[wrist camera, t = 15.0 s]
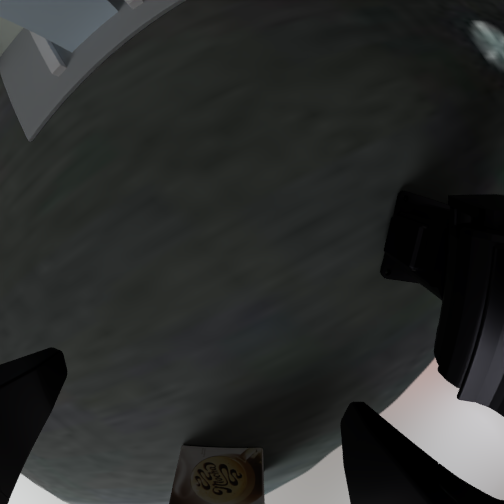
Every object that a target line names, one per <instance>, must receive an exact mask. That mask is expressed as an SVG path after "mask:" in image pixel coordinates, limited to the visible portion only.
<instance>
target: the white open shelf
mask: <svg viewBox="0 0 504 504" xmlns="http://www.w3.org/2000/svg"><path fill="white" fill-rule="evenodd" d="M108 1H109V2H110V3H111V4H112V5H113V6H114V7H115V8H116V9H117V11H118V12H117V13H116V14H115V15H114V16H112V17H111V18H110V19H109V20H107V21H106V22H105V23H104V24H103V25H101V26H100V27H99V28H98V29H97V30H96V31H95V32H93V33H92V34H91V35H90V36H89V37H88V38H87V39H86V40H85V41H84V42H83V43H81V44H80V45H79V46H78V47H77V48H76V49H75V50H74V51H73V52H72V53H71V52H70V51H68V50H66V49H64V48H62V47H61V46H59V45H57V44H55V43H53V42H51V41H49V40H47V39H45V38H43V37H42V36H40V35H38V34H36V33H34V32H32V31H30V30H28V29H25V28H23V27H21V26H19V25H17V24H15V23H13V22H11V21H8V20H6V19H4V18H2V17H0V74H1V77H2V79H3V82H4V85H5V88H6V90H7V93H8V96H9V98H10V101H11V103H12V105H13V108H14V110H15V113H16V115H17V117H18V119H19V122H20V124H21V126H22V128H23V130H24V133H25V135H26V137H27V139H28V141H33V140H34V138H35V137H36V135H37V134H38V133H39V131H40V130H41V129H42V128H43V126H44V125H45V124H46V122H47V121H48V120H49V119H50V117H51V116H52V115H53V114H54V113H55V111H56V110H57V109H58V108H59V107H60V106H61V104H62V103H63V102H64V101H65V100H66V99H67V98H68V97H69V95H70V94H71V93H72V92H73V91H74V90H75V89H76V88H77V87H78V86H79V85H80V84H81V83H82V82H83V81H84V80H85V79H86V78H87V77H88V76H89V75H90V74H91V73H92V72H93V71H94V70H95V69H96V68H97V67H98V66H99V65H100V64H101V63H102V62H104V61H105V60H106V59H107V58H108V57H109V56H110V55H111V54H113V53H114V52H115V51H116V50H117V49H118V48H120V47H121V46H122V45H123V44H124V43H126V42H127V41H128V40H129V39H131V38H132V37H133V36H134V35H136V34H137V33H138V32H140V31H141V30H142V29H144V28H145V27H146V26H148V25H149V24H151V23H152V22H153V21H155V20H156V19H158V18H159V17H161V16H162V15H164V14H165V13H167V12H168V11H170V10H171V9H173V8H174V7H176V6H178V5H179V4H181V3H182V2H184V1H186V0H108Z"/></svg>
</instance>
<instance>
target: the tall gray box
mask: <svg viewBox="0 0 504 504" xmlns="http://www.w3.org/2000/svg"><path fill="white" fill-rule="evenodd" d="M117 12H118V11H117V9H116V8H115V7H114V6H113V5H112V4H111V3H110V2H109V1H108V0H0V17H2V18H4V19H6V20H8V21H11V22H13V23H15V24H17V25H19V26H21V27H23V28H25V29H28V30H30V31H32V32H34V33H36V34H38V35H40V36H42V37H43V38H45V39H47V40H49V41H51V42H53V43H55V44H57V45H59V46H61V47H62V48H64V49H66V50H68V51H70V52H71V53H72V52H73V51H74V50H75V49H76V48H77V47H78V46H79V45H80V44H81V43H83V42H84V41H85V40H86V39H87V38H88V37H89V36H90V35H91V34H92V33H93V32H95V31H96V30H97V29H98V28H99V27H100V26H101V25H103V24H104V23H105V22H106V21H107V20H109V19H110V18H111V17H112V16H114V15H115V14H116V13H117Z"/></svg>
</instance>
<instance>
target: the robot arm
mask: <svg viewBox="0 0 504 504" xmlns="http://www.w3.org/2000/svg"><path fill="white" fill-rule="evenodd" d="M404 195H405V196H406V200H405V201H403V196H404ZM384 251H385V255H384V259H383V262H382V266H381V270H380V273H381V275H382V276H383V277H384V278H386V279H393V280H400V281H406V282H413V283H420V284H421V285H423V286H424V287H425V288H427V289H428V290H429V291H430V292H432V293H433V294H434V295H436V296H437V297H438V298H440V299H441V300H442V307H441V313H440V319H439V325H438V327H437V333H436V339H435V345H434V355H435V358H436V360H437V363H438V365H439V367H438V372H439V373H440V374H441V375H442V376H443V377H444V378H445V379H446V380H447V381H448V382H450V383H451V384H453V385H454V386H456V387H457V388H460V389H459V392H458V394H457V398H458V399H459V400H464V401H470V402H476V403H479V404H482V405H484V406H487V407H489V408H491V409H493V410H495V411H496V412H498V413H499V414H501V415H502V416H503V417H504V195H497V194H488V195H451V196H448V205H447V204H444V203H441V202H438V201H435V200H432V199H429V198H426V197H423V196H420V195H416V194H413V193H410V192H406V191H401V192H400V193H399V194H398V196H397V201H396V206H395V211H394V216H393V217H392V218H391V222H390V226H389V231H388V235H387V239H386V243H385V248H384ZM387 269H389V272H388V273H387V274H385V271H386V270H387ZM66 377H67V367H66V363H65V359H64V355H63V353H62V351H60V350H58V349H55V348H52V347H51V348H48V349H45V350H42V351H39V352H36V353H33V354H30V355H27V356H24V357H22V358H19V359H16V360H13V361H10V362H7V363H4V364H1V365H0V504H8V502H9V498H10V496H11V493H12V491H13V489H14V487H15V484H16V482H17V479H18V477H19V475H20V473H21V471H22V468H23V466H24V464H25V462H26V460H27V458H28V456H29V454H30V452H31V450H32V448H33V446H34V444H35V442H36V440H37V438H38V436H39V434H40V432H41V430H42V428H43V426H44V425H45V423H46V421H47V419H48V417H49V415H50V413H51V411H52V409H53V407H54V405H55V402H56V400H57V398H58V395H59V393H60V391H61V388H62V386H63V384H64V382H65V379H66ZM341 437H342V449H343V463H344V470H345V475H346V481H347V485H348V491H349V496H350V502H351V504H504V500H499V499H496V498H494V497H492V496H490V495H488V494H486V493H484V492H482V491H481V490H479V489H477V488H475V487H473V486H472V485H470V484H468V483H467V482H465V481H463V480H462V479H460V478H458V477H457V476H456V475H454V474H453V473H451V472H450V471H449V470H447V469H446V468H445V467H443V466H442V465H441V464H438V462H437V461H435V460H434V459H433V458H432V457H430V456H429V455H428V454H427V453H425V452H424V451H423V450H422V449H420V448H419V447H418V446H416V445H415V444H414V443H413V442H412V441H410V440H409V439H408V438H407V437H405V436H404V435H403V434H402V433H400V432H399V431H398V430H397V429H395V428H394V427H393V426H392V425H391V424H390V423H388V422H387V421H386V420H385V419H384V418H382V417H381V416H380V415H379V414H378V413H376V412H375V411H374V410H373V409H372V408H371V407H369V406H368V405H367V404H366V403H364V402H352V403H350V404H349V406H348V408H347V410H346V412H345V414H344V416H343V418H342V420H341Z"/></svg>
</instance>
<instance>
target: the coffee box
mask: <svg viewBox="0 0 504 504" xmlns="http://www.w3.org/2000/svg"><path fill="white" fill-rule="evenodd" d="M169 504H264V465H263V448H217V447H197V446H185V445H182V447H181V451H180V455H179V460H178V464H177V469H176V473H175V478H174V483H173V488H172V493H171V497H170V502H169Z"/></svg>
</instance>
